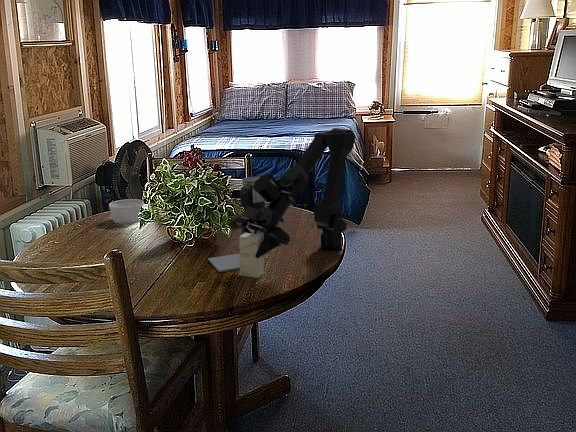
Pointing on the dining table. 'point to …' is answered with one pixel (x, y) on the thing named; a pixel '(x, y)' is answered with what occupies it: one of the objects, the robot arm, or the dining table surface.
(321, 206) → the robot arm
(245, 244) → the skincare box
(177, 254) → the dining table surface
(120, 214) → the white bowl
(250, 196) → the milk frother
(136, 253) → the dining table surface
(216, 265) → the slate mat
